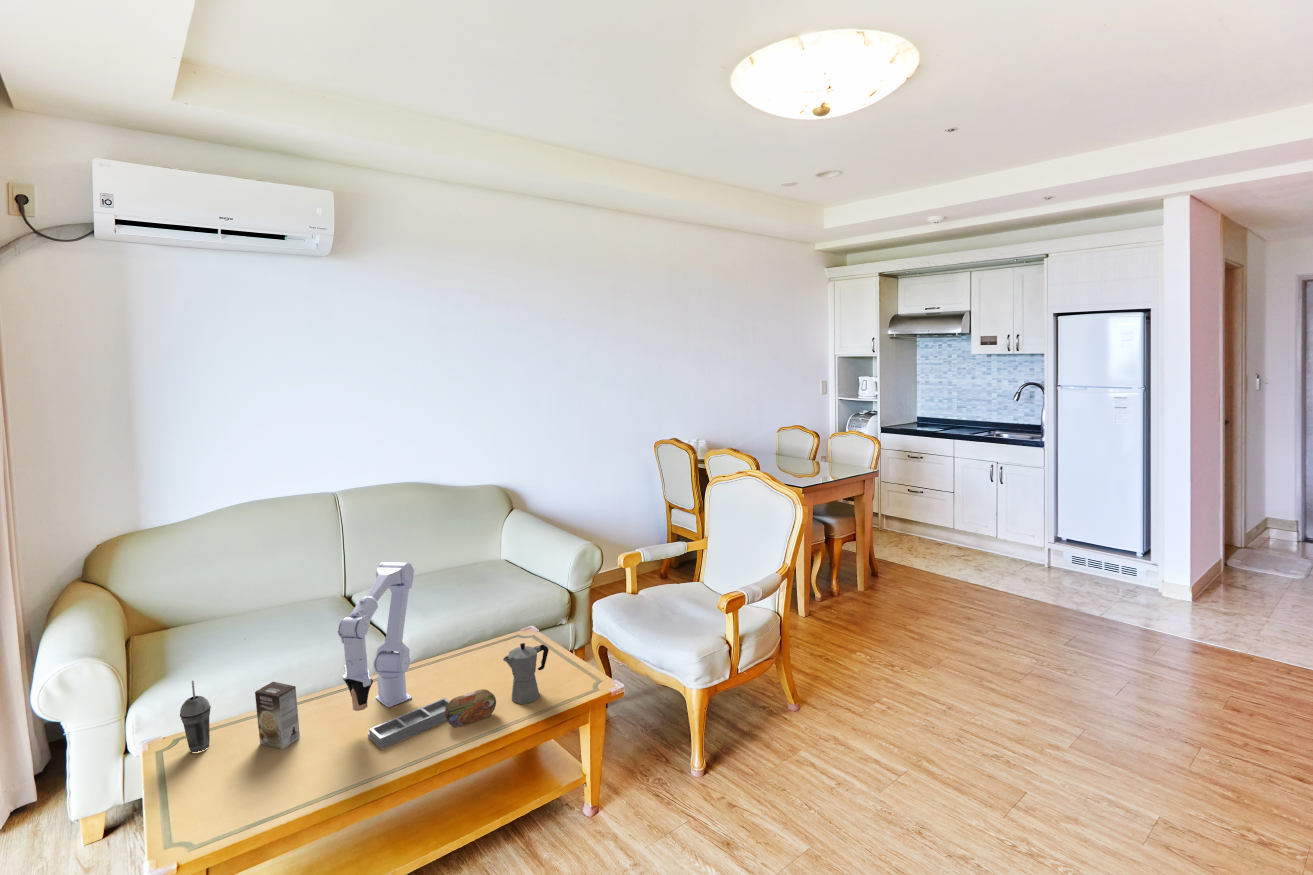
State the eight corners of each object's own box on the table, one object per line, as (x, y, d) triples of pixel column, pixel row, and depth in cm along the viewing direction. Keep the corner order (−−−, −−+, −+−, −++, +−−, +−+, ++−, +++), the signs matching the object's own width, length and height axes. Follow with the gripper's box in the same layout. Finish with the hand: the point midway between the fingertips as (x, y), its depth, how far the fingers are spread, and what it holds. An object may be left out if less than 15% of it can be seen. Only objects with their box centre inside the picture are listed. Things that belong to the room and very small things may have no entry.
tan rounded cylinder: (350, 707, 196) (348, 684, 195) (364, 702, 199) (362, 679, 198) (355, 712, 193) (354, 689, 192) (369, 706, 196) (367, 684, 195)
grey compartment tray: (368, 737, 193) (367, 727, 192) (444, 704, 210) (443, 696, 209) (381, 749, 186) (380, 739, 186) (459, 714, 204) (458, 706, 203)
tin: (447, 730, 195) (445, 703, 194) (444, 725, 198) (442, 699, 197) (497, 714, 203) (495, 688, 202) (493, 710, 206) (492, 684, 205)
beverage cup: (182, 759, 184) (173, 691, 182) (186, 746, 191) (178, 680, 188) (213, 751, 187) (205, 684, 185) (216, 739, 194) (209, 673, 192)
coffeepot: (512, 709, 206) (508, 654, 204) (500, 697, 213) (497, 644, 211) (556, 694, 215) (554, 640, 212) (543, 682, 222) (541, 631, 220)
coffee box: (258, 744, 191) (253, 691, 189) (277, 732, 197) (272, 680, 195) (283, 749, 188) (277, 695, 186) (301, 737, 194) (296, 685, 192)
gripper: (332, 654, 196) (336, 698, 198) (351, 669, 186) (355, 715, 188) (356, 646, 201) (360, 689, 203) (376, 661, 191) (380, 705, 193)
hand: (359, 701), depth 196 cm, fingers closed on tan rounded cylinder, 4 cm apart
